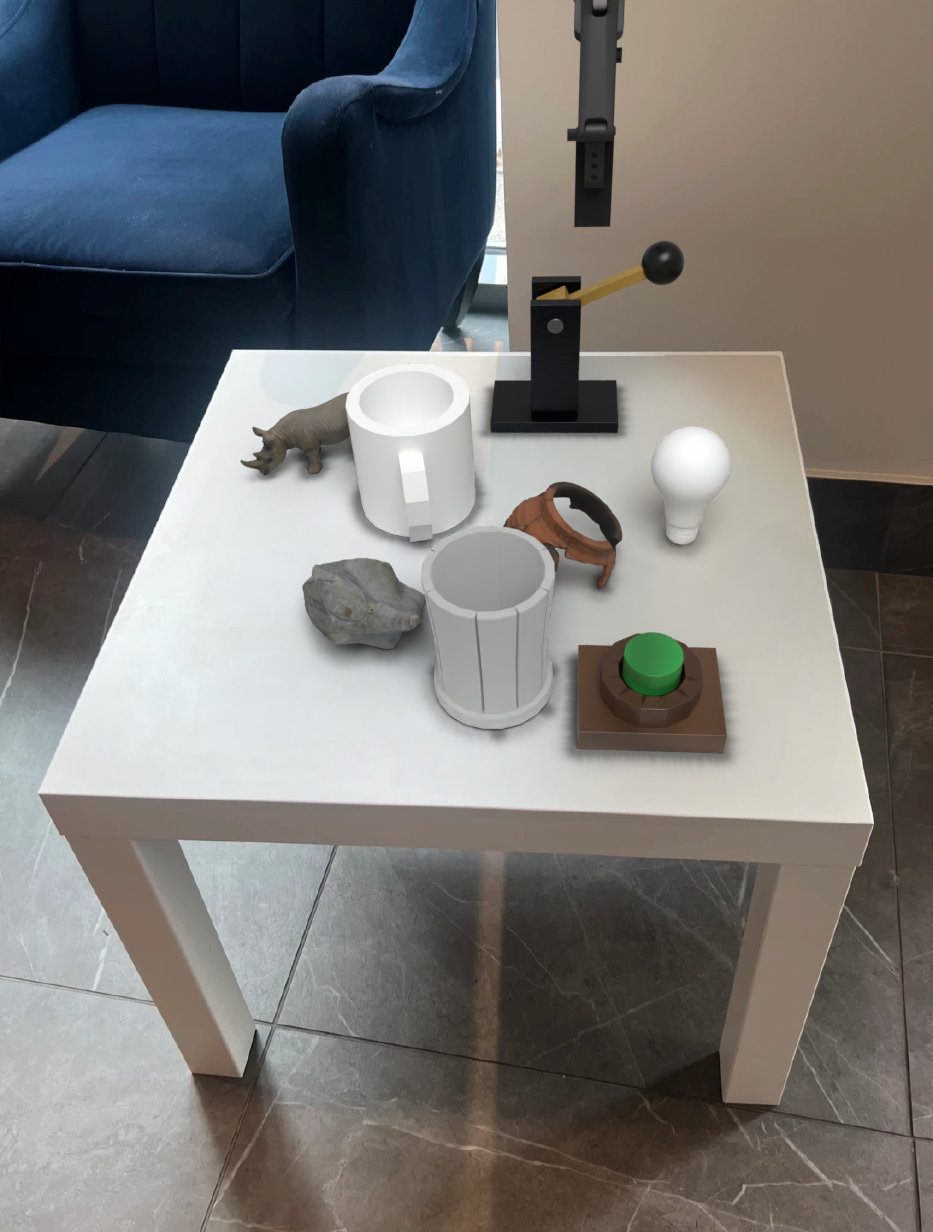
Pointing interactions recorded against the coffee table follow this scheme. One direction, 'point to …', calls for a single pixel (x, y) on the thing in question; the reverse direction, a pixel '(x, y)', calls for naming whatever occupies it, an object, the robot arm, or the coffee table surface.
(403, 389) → the mug
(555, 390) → the switch bracket
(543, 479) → the coffee table surface
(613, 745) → the button block
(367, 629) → the fossil
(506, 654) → the cup
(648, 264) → the switch lever
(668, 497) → the lightbulb
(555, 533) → the broken clay pot
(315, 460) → the rhino figurine
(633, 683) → the light button
